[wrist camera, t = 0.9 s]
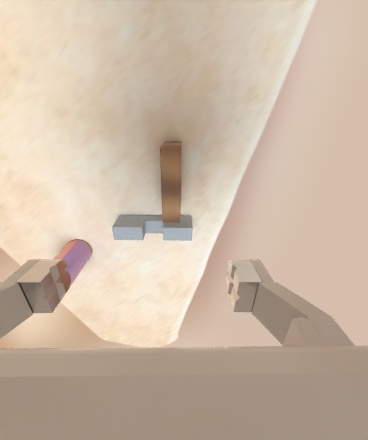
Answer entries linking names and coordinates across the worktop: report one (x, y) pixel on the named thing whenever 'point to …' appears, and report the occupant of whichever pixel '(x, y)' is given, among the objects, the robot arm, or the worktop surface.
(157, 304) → the worktop surface
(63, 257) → the beverage can
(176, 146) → the wooden bridge block
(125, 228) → the notched grey block
